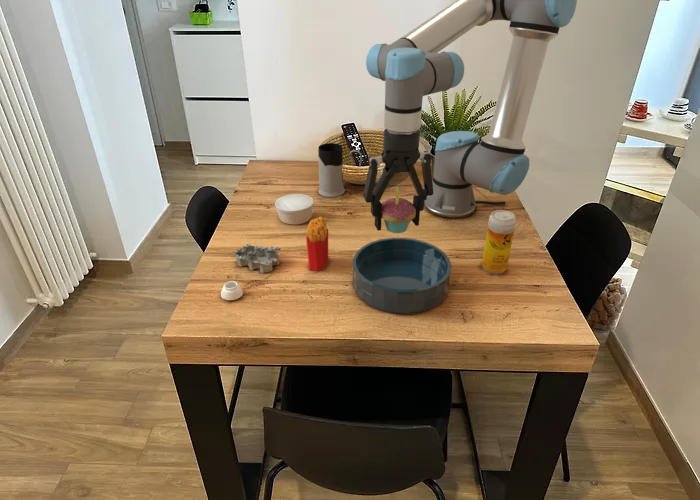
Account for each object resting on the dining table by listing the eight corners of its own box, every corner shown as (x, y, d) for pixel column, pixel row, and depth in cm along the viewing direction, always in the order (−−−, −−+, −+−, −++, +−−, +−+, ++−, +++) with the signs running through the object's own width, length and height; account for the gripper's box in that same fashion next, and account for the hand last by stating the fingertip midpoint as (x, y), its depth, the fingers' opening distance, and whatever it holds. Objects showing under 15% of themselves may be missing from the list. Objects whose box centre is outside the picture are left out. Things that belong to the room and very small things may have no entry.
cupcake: (412, 239, 111) (416, 190, 105) (375, 235, 112) (376, 186, 106) (416, 221, 118) (420, 174, 112) (380, 217, 119) (382, 171, 113)
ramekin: (269, 222, 145) (267, 206, 142) (287, 206, 154) (286, 191, 151) (303, 229, 141) (302, 213, 139) (320, 212, 150) (319, 197, 147)
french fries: (319, 274, 123) (318, 231, 116) (305, 271, 124) (302, 229, 117) (332, 256, 129) (330, 215, 123) (317, 253, 130) (316, 213, 124)
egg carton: (283, 261, 128) (282, 248, 125) (266, 276, 122) (264, 262, 120) (250, 250, 132) (249, 237, 130) (232, 264, 126) (230, 251, 124)
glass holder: (317, 185, 167) (316, 142, 159) (360, 184, 168) (360, 141, 160) (318, 197, 159) (316, 152, 151) (362, 195, 160) (363, 151, 152)
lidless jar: (217, 293, 116) (226, 304, 112) (216, 283, 114) (225, 293, 111) (237, 286, 118) (247, 296, 115) (236, 275, 117) (245, 286, 113)
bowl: (427, 254, 130) (429, 232, 127) (464, 306, 111) (468, 282, 108) (343, 266, 125) (342, 244, 122) (367, 322, 107) (367, 298, 103)
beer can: (492, 277, 121) (502, 223, 113) (476, 265, 126) (484, 212, 118) (511, 271, 123) (522, 217, 115) (494, 259, 128) (504, 207, 120)
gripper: (442, 120, 108) (433, 212, 120) (347, 127, 104) (348, 223, 116) (456, 130, 102) (445, 227, 114) (357, 139, 98) (356, 238, 110)
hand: (396, 225), depth 115 cm, fingers closed on cupcake, 8 cm apart
